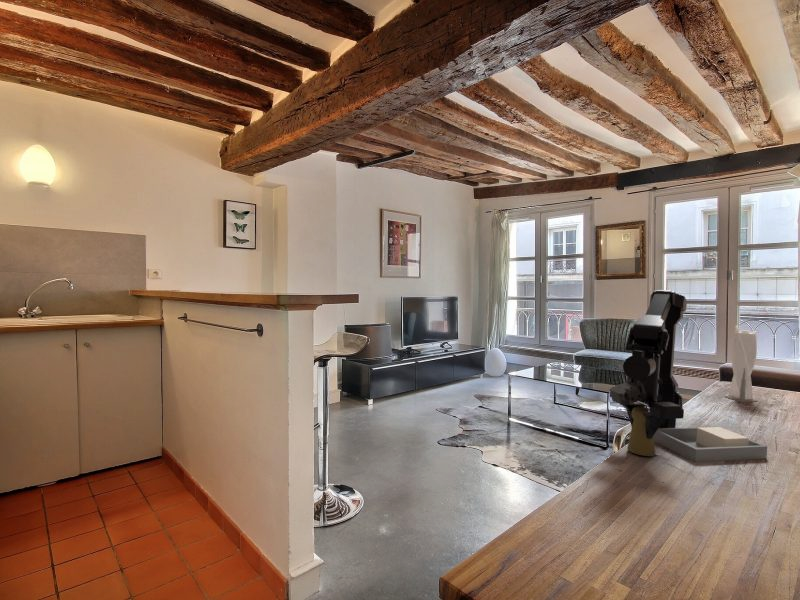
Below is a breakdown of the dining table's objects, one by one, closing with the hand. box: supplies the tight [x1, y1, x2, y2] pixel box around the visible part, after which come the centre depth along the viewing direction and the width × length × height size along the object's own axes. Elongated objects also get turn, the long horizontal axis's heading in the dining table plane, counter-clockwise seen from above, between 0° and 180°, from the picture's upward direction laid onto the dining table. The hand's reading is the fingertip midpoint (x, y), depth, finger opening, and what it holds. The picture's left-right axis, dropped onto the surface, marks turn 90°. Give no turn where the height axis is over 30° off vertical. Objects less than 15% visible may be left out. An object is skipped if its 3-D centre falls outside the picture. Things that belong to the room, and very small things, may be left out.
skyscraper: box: [724, 325, 758, 403], centre depth 164 cm, size 8×8×28 cm
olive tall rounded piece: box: [626, 406, 656, 457], centre depth 107 cm, size 6×6×11 cm
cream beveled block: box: [696, 426, 750, 448], centre depth 110 cm, size 8×7×4 cm
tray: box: [653, 426, 768, 463], centre depth 110 cm, size 14×20×4 cm
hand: (641, 435), depth 107 cm, fingers closed on olive tall rounded piece, 4 cm apart
